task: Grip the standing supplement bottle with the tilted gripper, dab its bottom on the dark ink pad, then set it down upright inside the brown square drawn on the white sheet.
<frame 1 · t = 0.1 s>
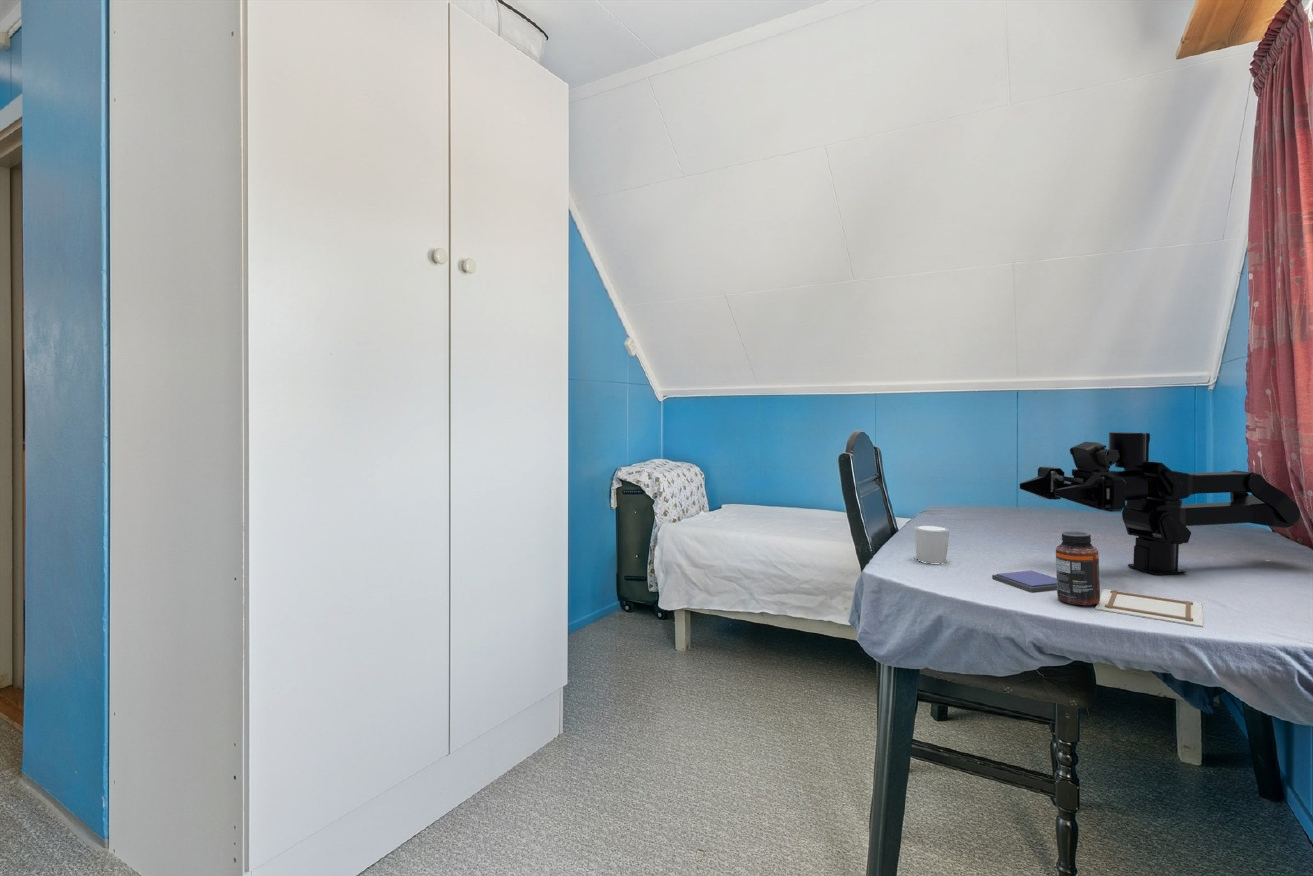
hand: (1037, 489, 119), 17 cm above the table, tool horizontal, fingers open, 9 cm apart
white short cylinder: (931, 562, 133), on the table
ink pad: (1031, 583, 116), on the table
marked sheet: (1149, 606, 102), on the table
supplement bottle: (1078, 602, 105), on the table, touching marked sheet
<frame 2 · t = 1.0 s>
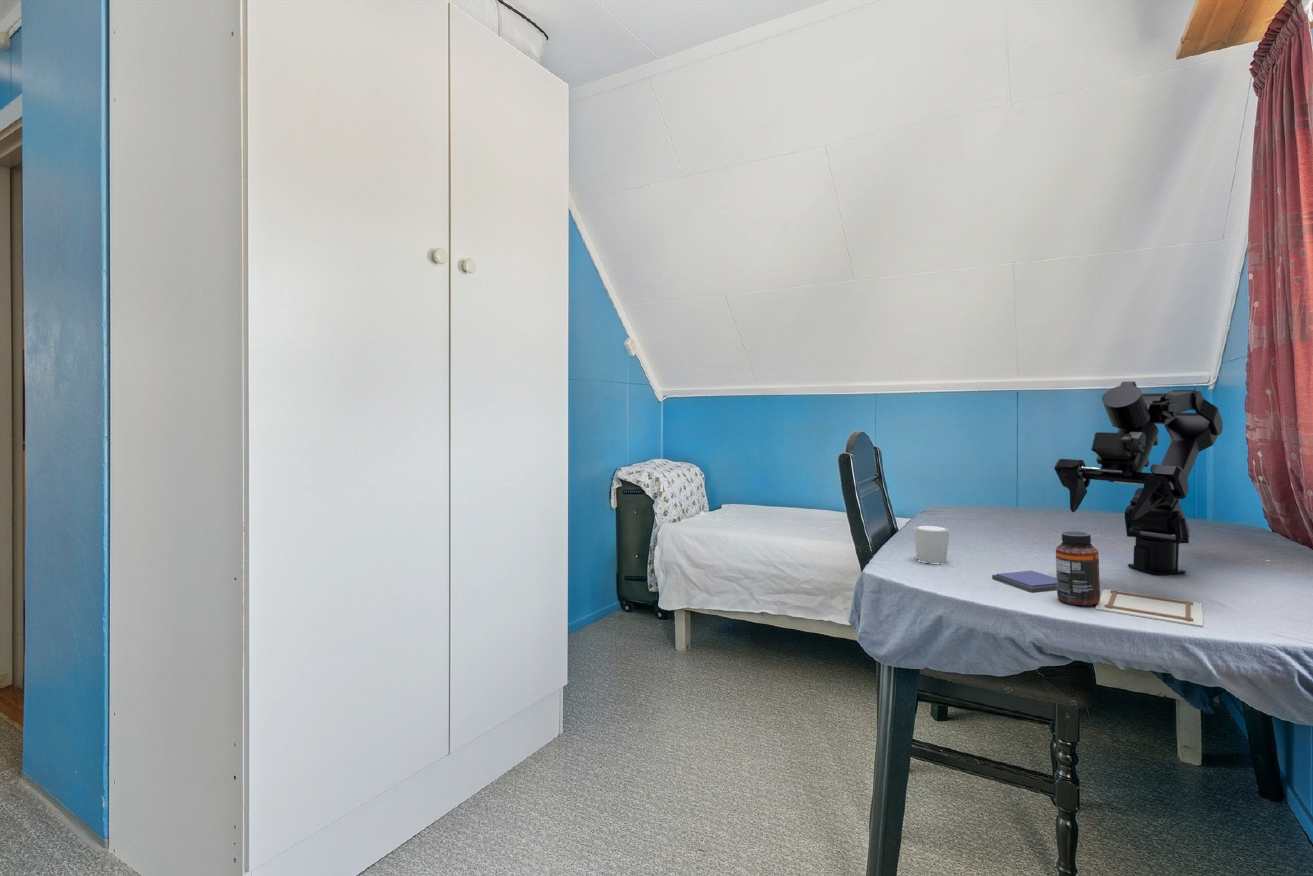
hand: (1101, 514, 109), 14 cm above the table, tool tilted 45°, fingers open, 9 cm apart
nothing on the table moved.
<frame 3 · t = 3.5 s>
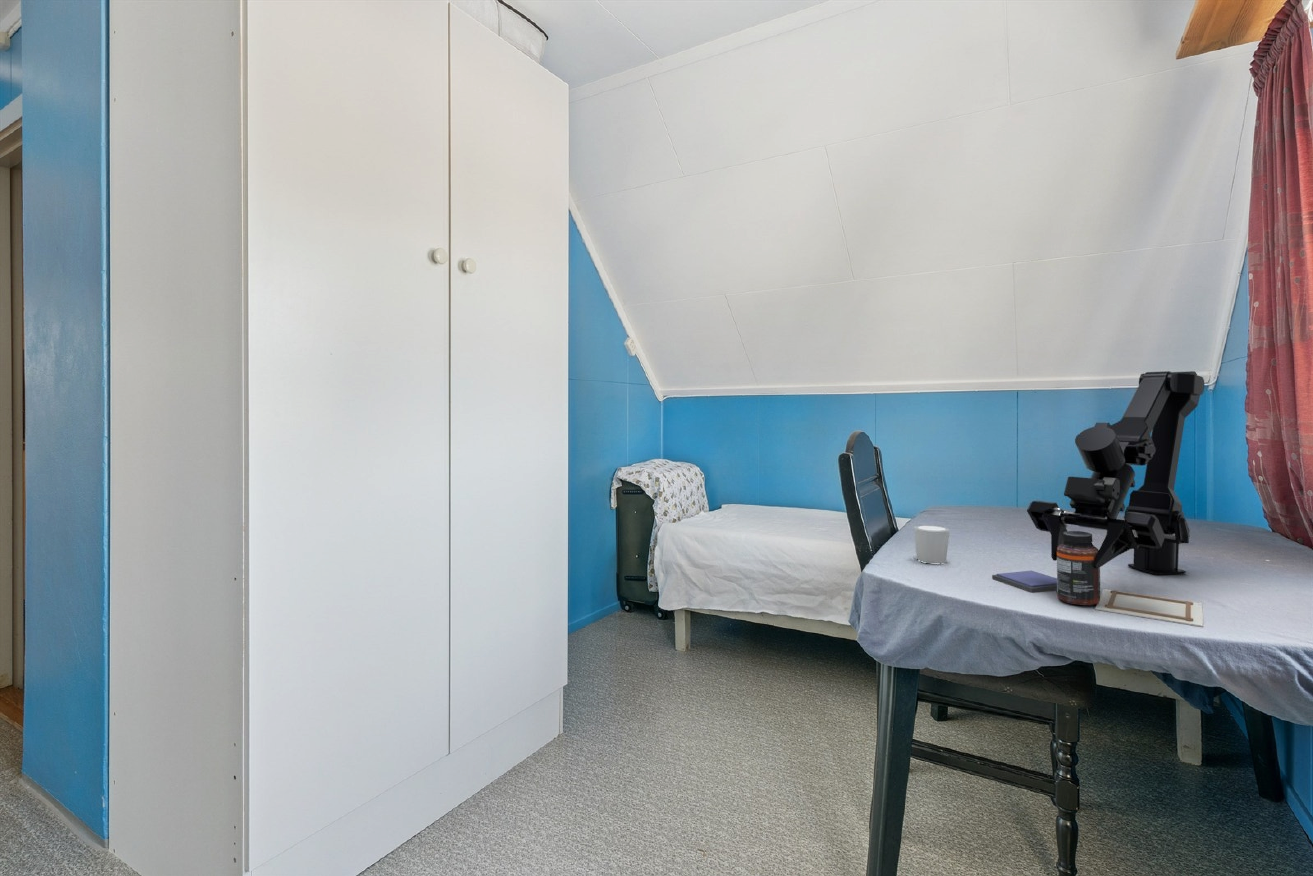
hand: (1073, 563, 104), 7 cm above the table, tool tilted 45°, fingers closed on supplement bottle, 6 cm apart
supplement bottle: (1078, 602, 105), on the table, touching gripper, marked sheet
everything else where it was.
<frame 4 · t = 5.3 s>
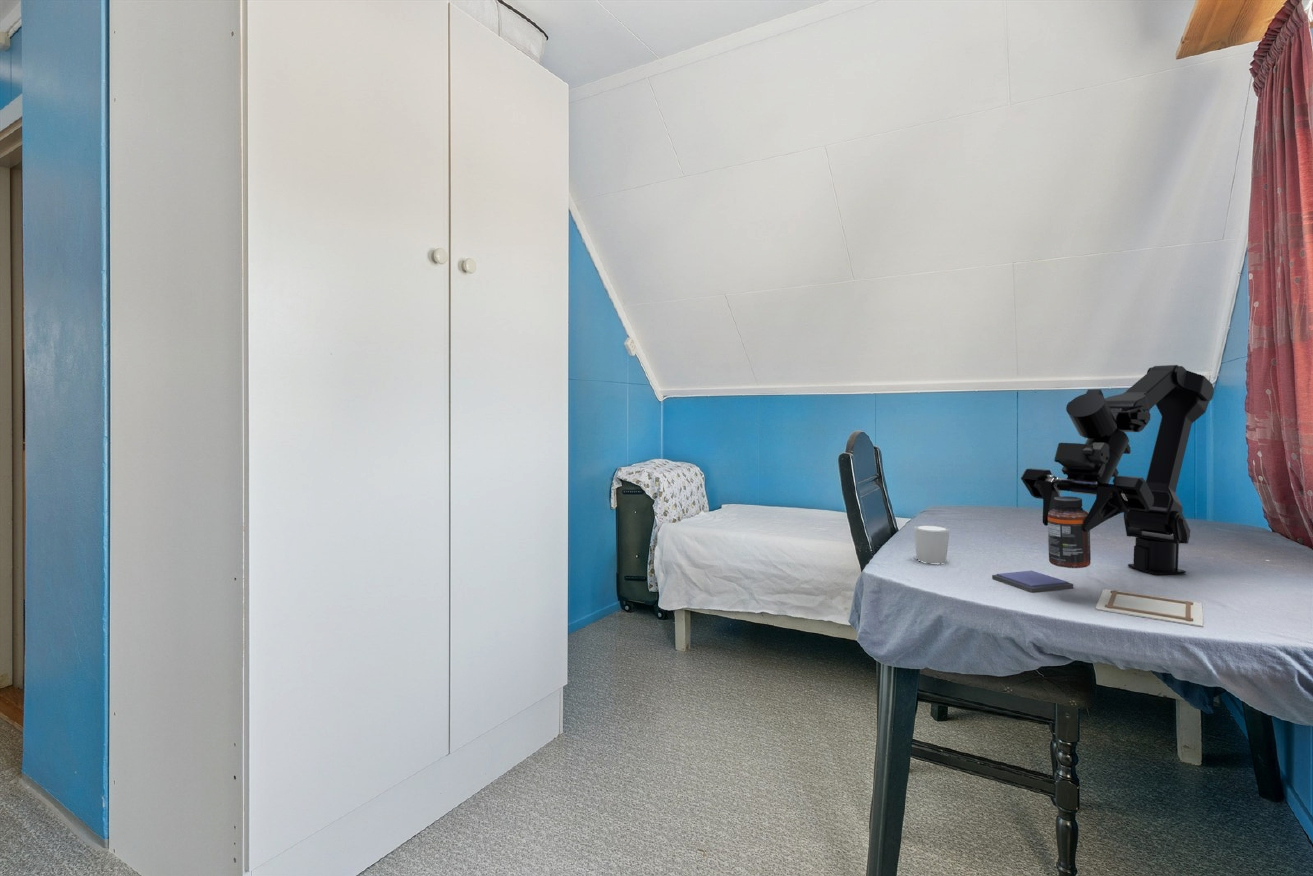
hand: (1063, 527, 106), 12 cm above the table, tool tilted 45°, fingers closed on supplement bottle, 6 cm apart
supplement bottle: (1069, 565, 107), point 5 cm above the table, touching gripper
everything else where it was.
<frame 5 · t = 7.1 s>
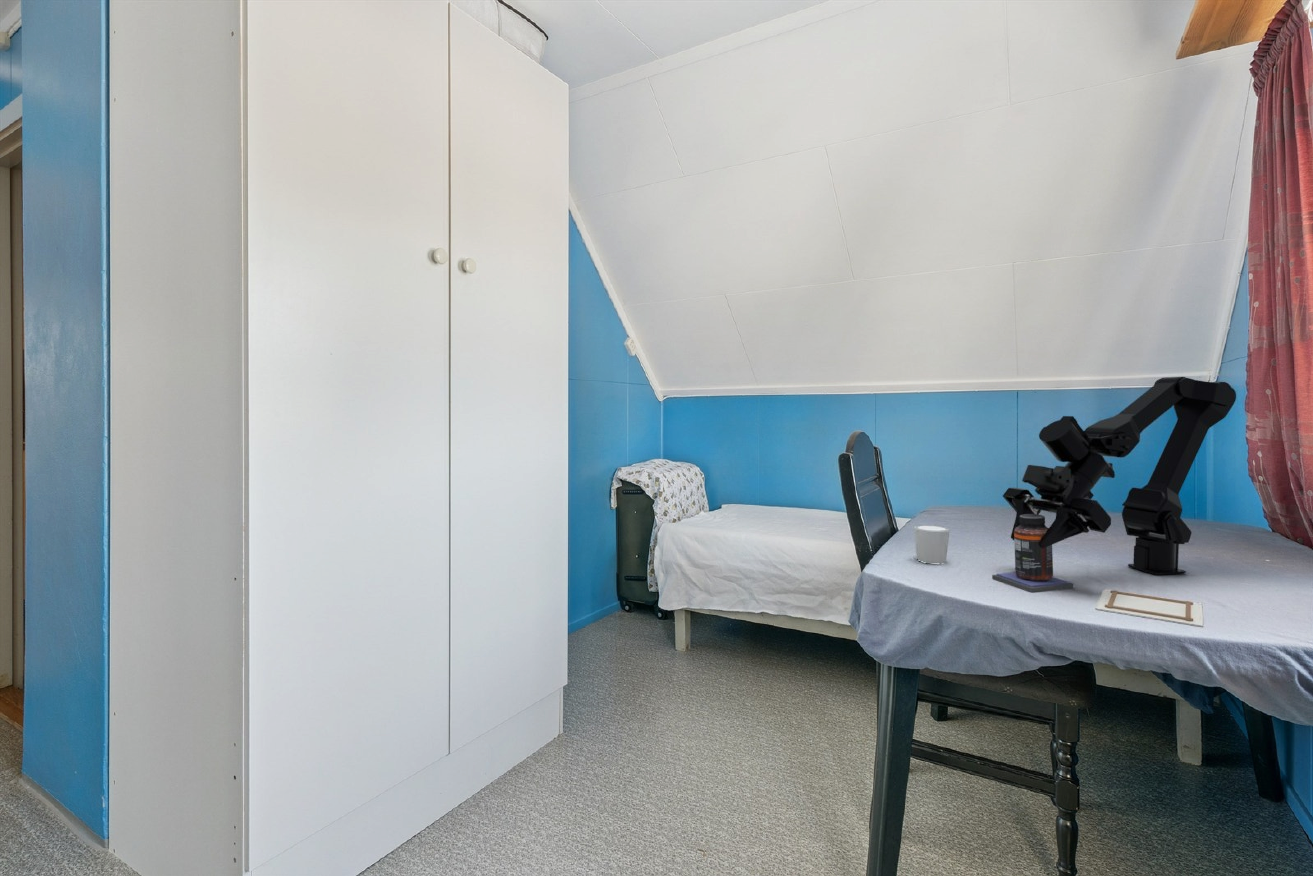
hand: (1026, 542, 115), 8 cm above the table, tool tilted 45°, fingers closed on supplement bottle, 6 cm apart
supplement bottle: (1033, 578, 116), point 1 cm above the table, touching gripper, ink pad
everything else where it was.
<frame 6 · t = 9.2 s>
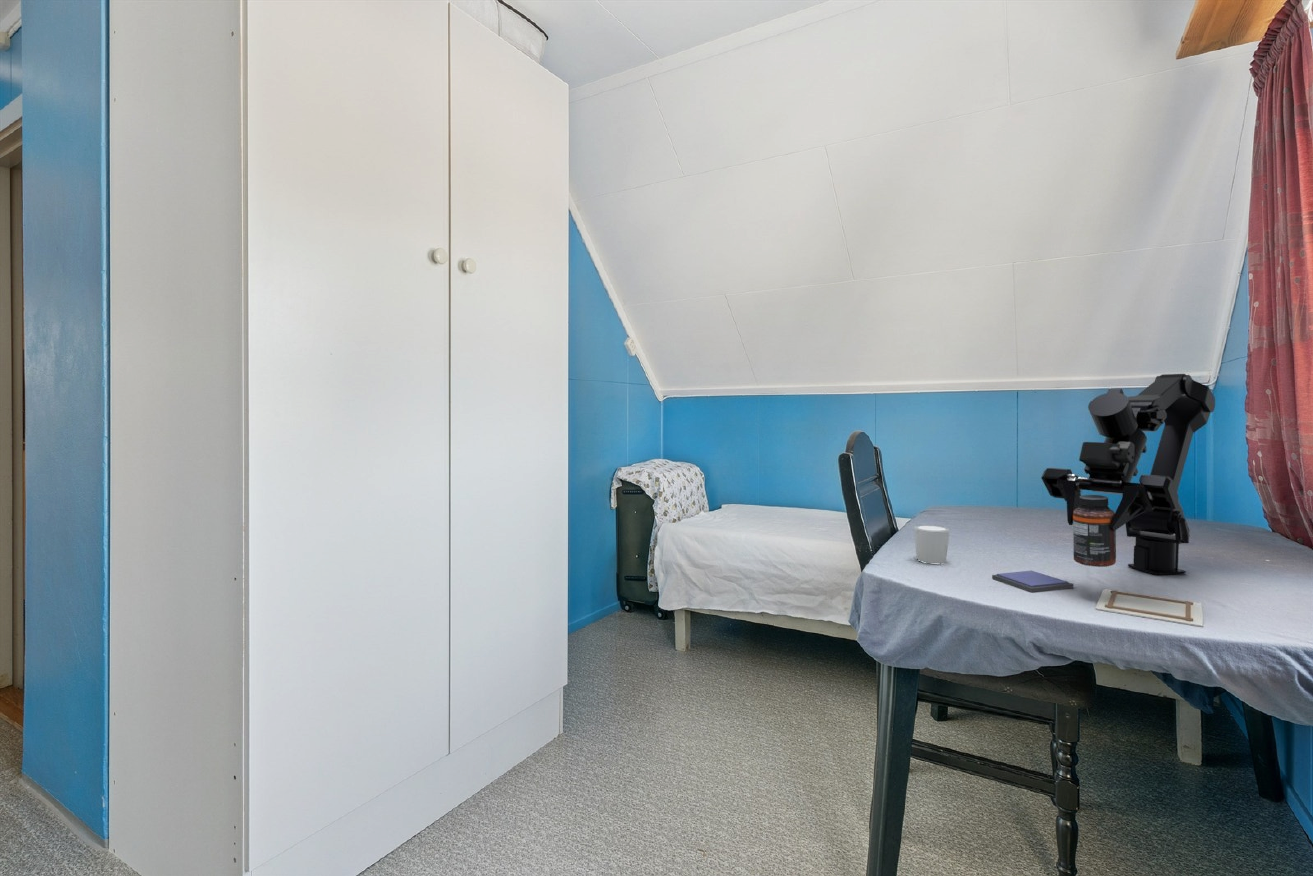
hand: (1090, 526, 106), 12 cm above the table, tool tilted 45°, fingers closed on supplement bottle, 6 cm apart
supplement bottle: (1094, 564, 107), point 6 cm above the table, touching gripper
everything else where it was.
when the fingers open (8 cm above the table, at t = 11.3 s): supplement bottle drops 1 cm, resting on marked sheet.
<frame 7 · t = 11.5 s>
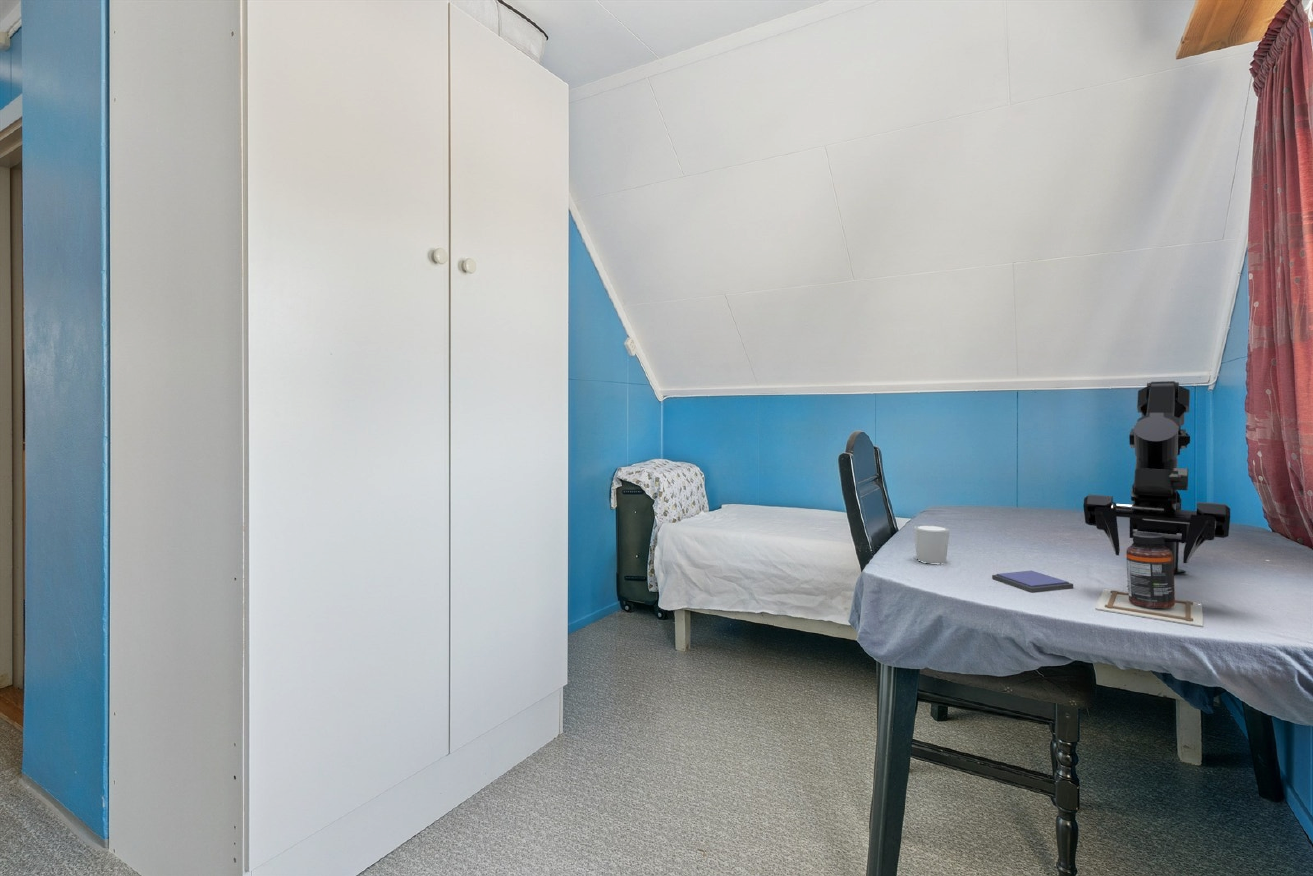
hand: (1150, 557, 100), 8 cm above the table, tool tilted 45°, fingers open, 8 cm apart
supplement bottle: (1151, 605, 102), resting on marked sheet
everything else where it was.
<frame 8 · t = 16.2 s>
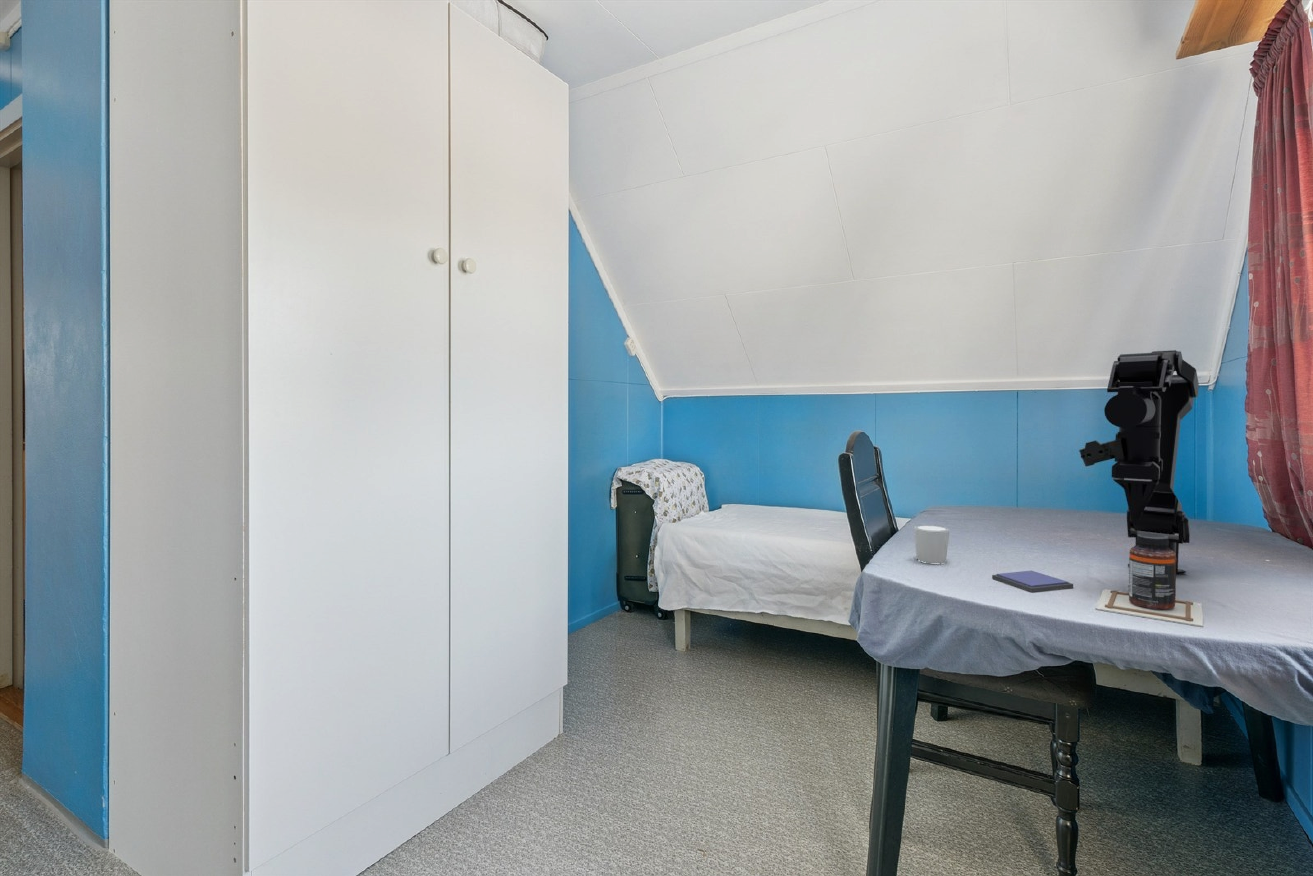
hand: (1136, 515, 111), 13 cm above the table, tool pointing down, fingers open, 9 cm apart
nothing on the table moved.
at the end: supplement bottle 0.6 cm from the marked sheet (horizontally); supplement bottle tilted 0°; the gripper is holding nothing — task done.
